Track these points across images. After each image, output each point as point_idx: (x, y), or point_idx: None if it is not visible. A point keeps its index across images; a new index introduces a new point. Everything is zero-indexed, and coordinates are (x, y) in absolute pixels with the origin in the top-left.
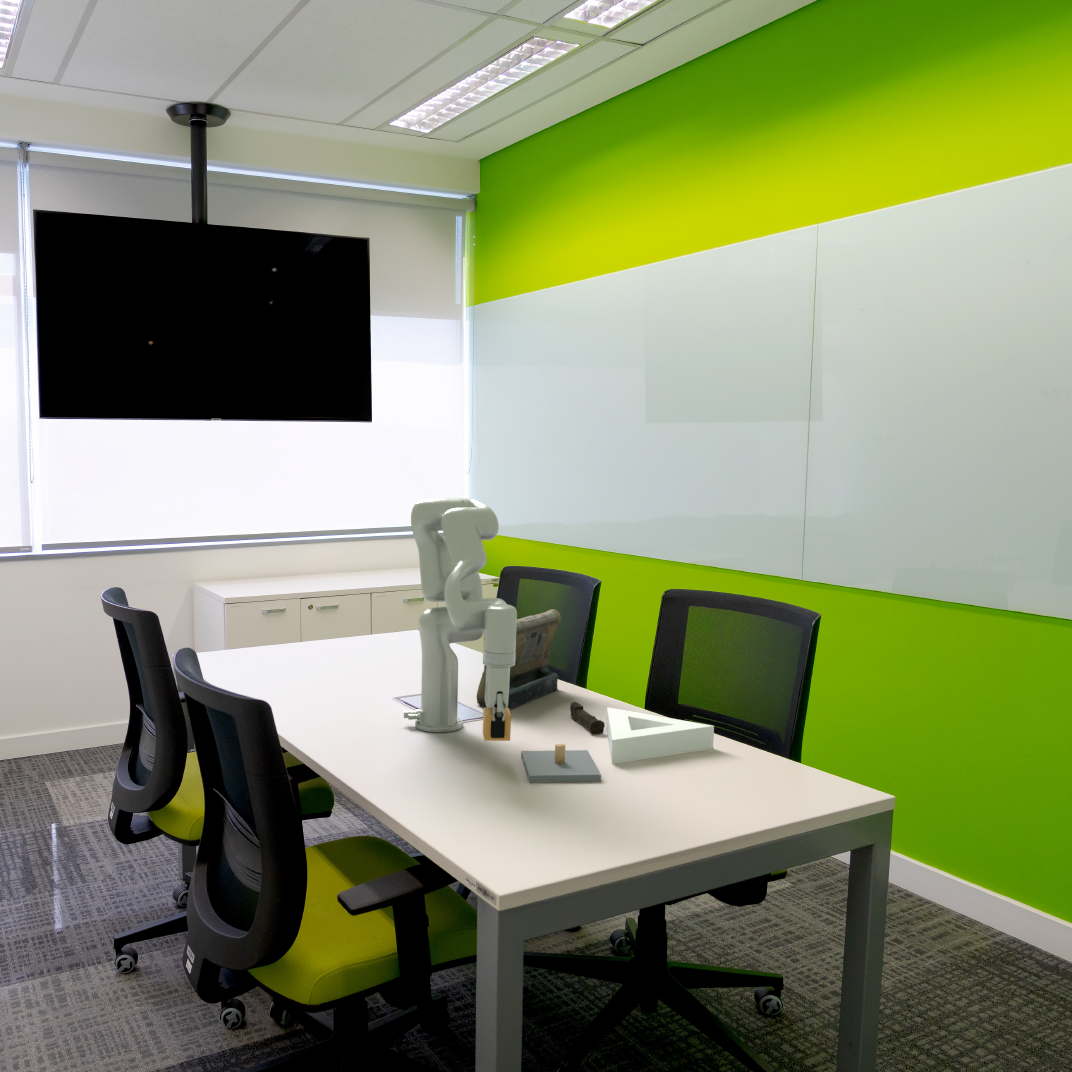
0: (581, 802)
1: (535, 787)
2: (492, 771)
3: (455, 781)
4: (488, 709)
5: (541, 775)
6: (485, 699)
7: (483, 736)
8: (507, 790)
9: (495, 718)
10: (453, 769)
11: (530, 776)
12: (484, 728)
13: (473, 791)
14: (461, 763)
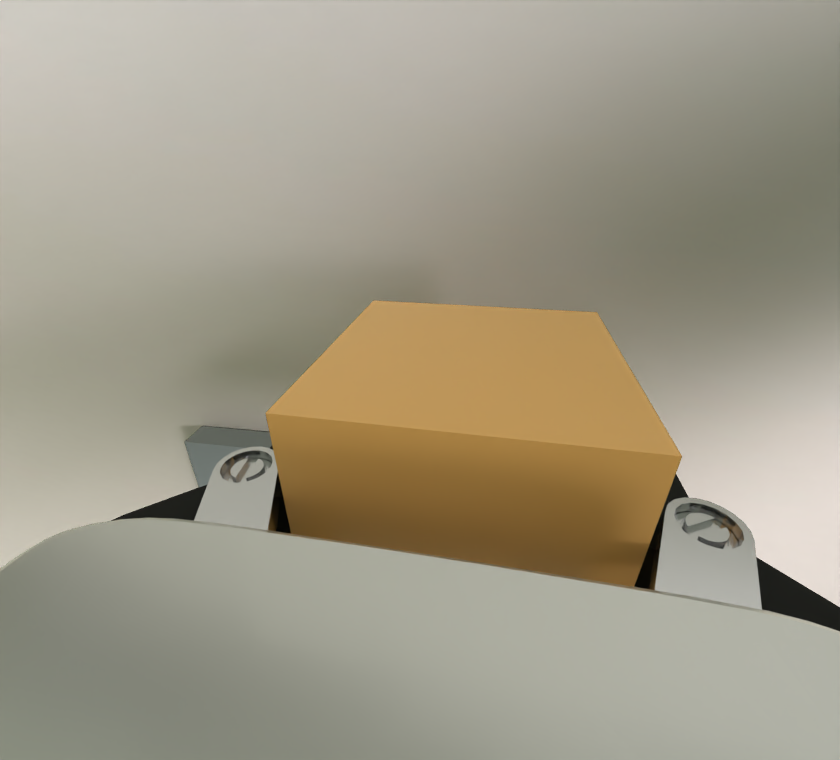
0: (68, 524)
1: (155, 435)
2: (324, 296)
3: (133, 60)
4: (567, 504)
5: (198, 481)
6: (423, 643)
7: (474, 306)
8: (91, 331)
9: (163, 500)
10: (346, 44)
11: (188, 443)
12: (365, 337)
13: (24, 170)
14: (469, 112)
